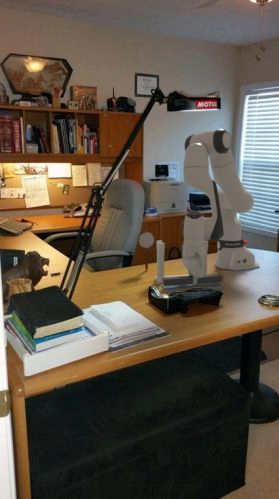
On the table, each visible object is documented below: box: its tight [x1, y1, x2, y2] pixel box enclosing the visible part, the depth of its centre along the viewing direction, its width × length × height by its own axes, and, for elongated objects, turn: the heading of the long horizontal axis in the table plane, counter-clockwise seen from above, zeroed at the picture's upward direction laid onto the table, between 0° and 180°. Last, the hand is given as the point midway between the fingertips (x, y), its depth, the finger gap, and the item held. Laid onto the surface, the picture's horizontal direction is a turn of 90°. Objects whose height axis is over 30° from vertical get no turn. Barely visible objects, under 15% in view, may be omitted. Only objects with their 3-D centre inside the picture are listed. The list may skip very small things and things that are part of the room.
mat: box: [161, 282, 227, 294], centre depth 175 cm, size 26×10×1 cm, turn 100°
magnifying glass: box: [137, 230, 156, 272], centre depth 198 cm, size 9×2×20 cm, turn 103°
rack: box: [154, 239, 209, 285], centre depth 183 cm, size 24×6×18 cm, turn 100°
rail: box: [162, 273, 224, 286], centre depth 175 cm, size 26×3×3 cm, turn 100°
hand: (193, 281), depth 175 cm, fingers closed on rail, 3 cm apart
